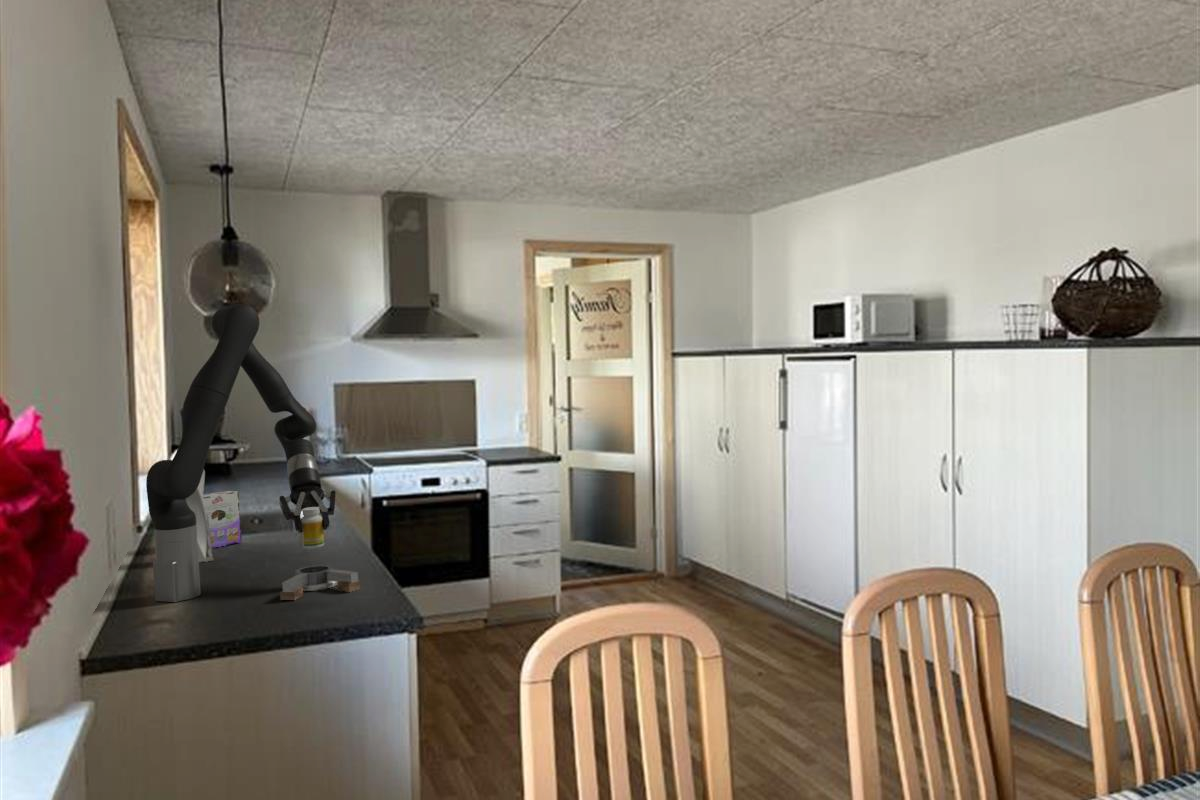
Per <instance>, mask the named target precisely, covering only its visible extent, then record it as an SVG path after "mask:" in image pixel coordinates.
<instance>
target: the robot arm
mask: <svg viewBox="0 0 1200 800" xmlns="http://www.w3.org/2000/svg"><path fill="white" fill-rule="evenodd" d="M211 328H212V331H213V332H214V334H215V335H216V337H217V339H218V341H217V345H216V346H215V349H214V351H213V353H212V354H211V355H210V356H209V358H208V359H207V360H206V362H205V363H204V364H203V366H202V367H201V368H200V370H199V371H198V372H197V374H196V376H194V378H193V380H192V382H191V384H190V387H189V389H188V391H187V393H186V396H185V397H184V398H185V399H184V401H183V406H182V411H181V412H182V421H181V422H182V434H181V435H182V436H181V439H180V442H179V445H178V448H177V450H176V451H175V454H174V457H173V459H164V460H163V459H162V460H159V461H156V462H155V463H154V464H152V465H151V466H150V468H149V470H148V472H147V475H146V479H145V481H146V482H145V484H146V486H145V487H146V495H147V506H148V513H149V516H150V518H151V520H152V523H153V531H154V533H153V534H154V549H155V551H154V552H155V560H154V561H153V562H152V572H153V585H154V587H153V588H154V601H155V602H166V603H167V602H169V603H177V602H180V601H181V602H182V601H187V600H190V599H194V598H196V597H199V596H200V595H201V593H202V591H201V579H200V563H199V559H198V544H197V527H196V515H195V513H194V512H193V511H192V510H191V509H190V508H189V507H188V505H187V503H186V498H188V497H190V496H191V495H192V494H193V493H194V492H195V491H196V489H197V488H198V486H199V483H200V480H201V477H202V473H203V469H204V470H205V465H206V461H207V458H208V454H209V451H210V447H211V445H212V442H213V439H214V436H215V434H216V431H217V429H218V426H219V424H220V420H221V418H222V416H223V414H224V412H225V409H226V407H227V404H228V401H229V398H230V396H231V393H232V389H233V387H234V384H235V383H236V379H237V377H238V374H239V372H240V368H242V369H243V370H244V372H245V373H246V374H247V377H248V378H249V380H250V381H251V382H252V384H253V386H254V387H255V389H256V390H257V392H258V394H259V395H260V397H261V399H262V400H263V402H264V404H265V405H266V407H267V409H268V411H270V412H271V413H273V414H276V413H283V412H287V413H290V415H288V416H285V417H284V418H282V419H280V420H279V419H278V421H276V423H275V425H274V434H275V436H276V437H277V439H278V441H279V443H280V444H281V446H282V449H283V451H284V453H285V459H286V464H287V467H286V468H287V469H286V470H287V471H286V472H287V480H288V485H289V489H290V490H289V491H290V494H289V495H288V496H285V495H280V496H279V501H278V504H279V506H280V509H281V510H282V513H283V515H284V519H285V520H286V521H290V520H292V521H293V524H294V529H295V531H296V532H298V533H299V534H301V532H302V524H301V518H302V517H301V514H302V513H303V511H302V510H303V509H304V508H308V507H319V510H320V512H319V514H320V516H322V518H323V531H324V530H327V529H328V528H329V526H330V519H329V516H334V514H335V508H336V507H335V506H336V491H335V490H331V491H330V492H325V490H323V487H322V483H321V477H320V473H319V467H318V463H317V460H316V457H315V451H314V446H313V444H312V442H311V441H310V440H308V439H306V438H307V437H310V436H312V435H313V434H314V433H315V432H316V429H317V422H316V420H315V418H314V416H313V415H312V414H311V413H310V411H308V410H307V409H306V408H305V407H304V406H303V405H302V404H301V403H300V402H299V401H298V400H297V398H296V397H294V395H293V393H292V392H291V390H290V389H289V387H288V385H287V383H286V382H285V380H284V378H283V377H282V376H281V374H280V373H279V371H277V369H276V368H275V367H274V366H273V365H272V364H271V363H270V362H269V361H268V360H267V359H266V358H265V357H264V356H263V355H262V354H261V352H259V350H258V349H257V348H256V345H255V344H254V343H253V342H254V339H255V338H256V336H257V334H258V331H259V328H260V317H259V314H258V312H257V310H256V309H255V308H254V307H253V306H251V305H249V304H244V303H243V304H242V303H238V304H233V305H228V306H224V307H222V308H219V309H217V311H215V313H214V314H213V316H212V318H211ZM304 438H305V439H304ZM324 498H325V499H326V501H328V502H329V507H326V506H325V504H324V501H323V500H324ZM290 502H291V503H292V504H294V505H295V509H294V512H293V511H291V509H290V507H289V505H290Z"/></svg>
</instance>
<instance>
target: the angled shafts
mask: <svg viewBox="0 0 1200 800" xmlns="http://www.w3.org/2000/svg"><path fill="white" fill-rule="evenodd" d="M358 574H359V573H358V572H357V571H351V570H343V569H337V568H336V569H335V568H334V569H333V570H329V571H327V580H330V581H338V582H346V583H354V582H357V581H358V580H359V575H358ZM307 583H308V574H298V575H296V576H295V575H294V576H292V577H291V578H288V579H286V580H285V581H282V583H281V584H282V591H283V592H292V591H294V590H296V589H298V588H300V587H302V586H303V585H305V584H307Z"/></svg>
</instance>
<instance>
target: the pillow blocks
mask: <svg viewBox="0 0 1200 800" xmlns="http://www.w3.org/2000/svg"><path fill="white" fill-rule="evenodd" d="M336 587H337V588H336V589H337V592H342V591H345V592H344V593H349V592H350V593H352V591H353V592H356V591H358V590H361V589H362V588H361V580H359V579H358V581H357V582H354V583H346V582H337V586H336ZM355 590H356V591H355ZM279 595H280V596H279V597H280V598H279V599H280V601H281V600H295V601H297V600H299V599H300V597H301V598H302V597H304V592H303V587H300V588H298V589H296V590H294V591H292V592H283V590H281V591H280V593H279ZM298 598H299V599H298ZM296 599H297V600H296Z"/></svg>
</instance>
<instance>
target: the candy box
mask: <svg viewBox="0 0 1200 800" xmlns="http://www.w3.org/2000/svg"><path fill="white" fill-rule="evenodd" d="M203 505H204V509H205V515H208V520H209V529H211V544H212V548H214V549H217V548H216V547H219V548H222V547H221V546H224V547H227V546H226V545H228V546H232V545H231V544H233V545H236V544H235V543H238V544H242V543H241V542H242V541H243V540H242V539H243V538H242V527H241V515H240V513H241V512H240V499H239V491H237V490H236V491H235V490H224V491H223V490H222V491H218V492H210V493H205V494H204V493H203ZM206 521H207V516H206Z"/></svg>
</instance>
